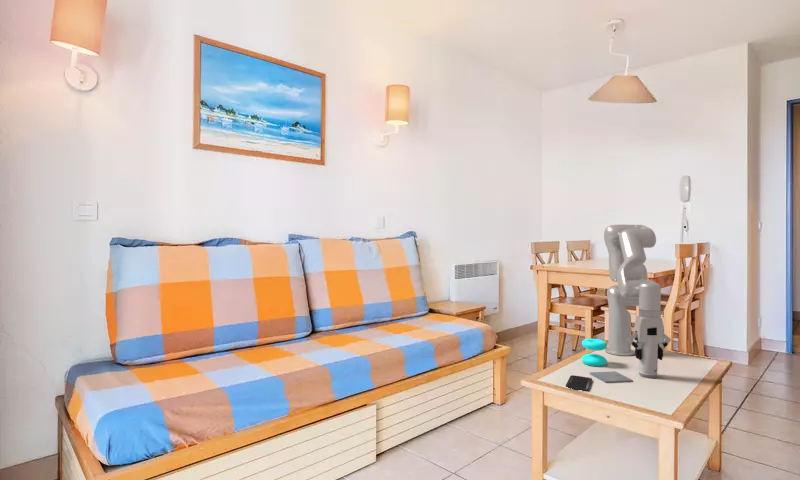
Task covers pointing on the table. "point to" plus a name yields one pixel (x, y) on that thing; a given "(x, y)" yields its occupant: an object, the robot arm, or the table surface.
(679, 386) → the table surface
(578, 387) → the phone
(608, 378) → the coaster
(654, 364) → the travel mug
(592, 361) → the donuts
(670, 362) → the table surface
